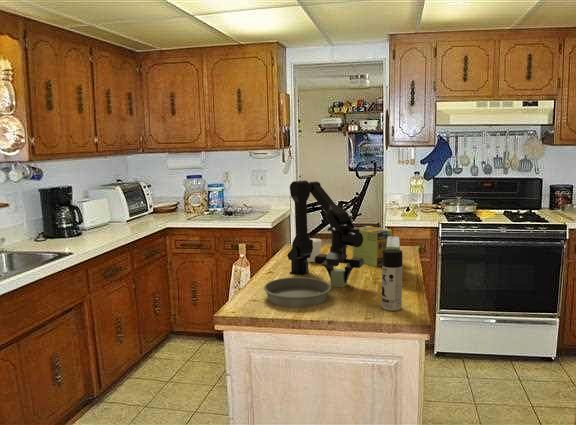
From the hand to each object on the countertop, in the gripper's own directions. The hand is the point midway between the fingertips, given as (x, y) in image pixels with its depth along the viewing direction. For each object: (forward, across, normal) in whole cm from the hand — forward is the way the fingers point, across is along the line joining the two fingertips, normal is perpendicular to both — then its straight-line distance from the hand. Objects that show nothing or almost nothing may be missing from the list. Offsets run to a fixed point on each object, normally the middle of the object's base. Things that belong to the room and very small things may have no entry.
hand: (338, 281), depth 200 cm
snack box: (+2, +16, +20) cm, 26 cm away
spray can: (+1, +26, -18) cm, 32 cm away
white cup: (+2, -25, +31) cm, 40 cm away
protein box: (+2, +1, +40) cm, 40 cm away
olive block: (+1, 0, 0) cm, 1 cm away
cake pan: (+2, -8, -20) cm, 22 cm away
